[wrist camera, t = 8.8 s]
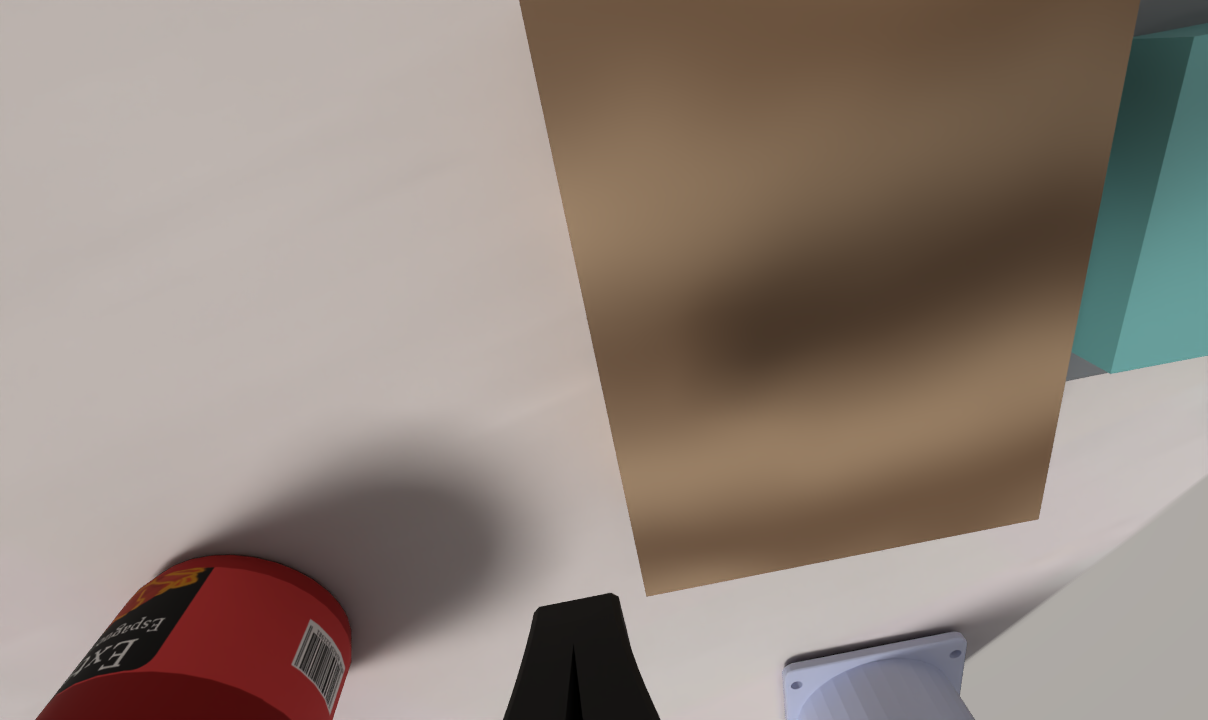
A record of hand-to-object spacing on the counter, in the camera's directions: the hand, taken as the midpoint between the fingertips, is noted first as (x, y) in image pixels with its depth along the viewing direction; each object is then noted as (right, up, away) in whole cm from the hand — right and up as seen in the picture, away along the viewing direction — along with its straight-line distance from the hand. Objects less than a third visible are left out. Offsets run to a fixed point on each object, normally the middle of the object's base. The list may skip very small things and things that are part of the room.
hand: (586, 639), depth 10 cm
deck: (+6, +8, +8) cm, 12 cm away
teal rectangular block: (+18, +9, +6) cm, 21 cm away
